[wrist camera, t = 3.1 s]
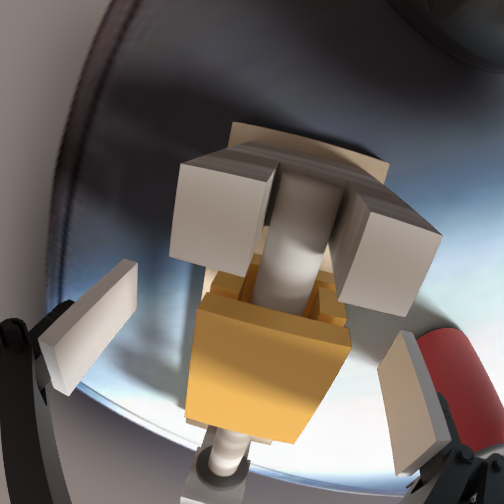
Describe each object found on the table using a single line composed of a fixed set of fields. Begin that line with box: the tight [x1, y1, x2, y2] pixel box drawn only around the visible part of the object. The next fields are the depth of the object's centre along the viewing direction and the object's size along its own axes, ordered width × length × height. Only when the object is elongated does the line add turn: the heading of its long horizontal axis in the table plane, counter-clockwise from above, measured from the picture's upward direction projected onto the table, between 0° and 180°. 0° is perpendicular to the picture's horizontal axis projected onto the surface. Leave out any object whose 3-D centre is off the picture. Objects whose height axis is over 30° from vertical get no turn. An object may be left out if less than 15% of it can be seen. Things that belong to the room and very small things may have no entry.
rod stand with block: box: [169, 122, 443, 504], centre depth 17 cm, size 28×9×12 cm, turn 168°
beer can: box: [416, 328, 504, 459], centre depth 16 cm, size 7×7×12 cm
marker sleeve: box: [185, 253, 352, 444], centre depth 12 cm, size 6×5×5 cm
